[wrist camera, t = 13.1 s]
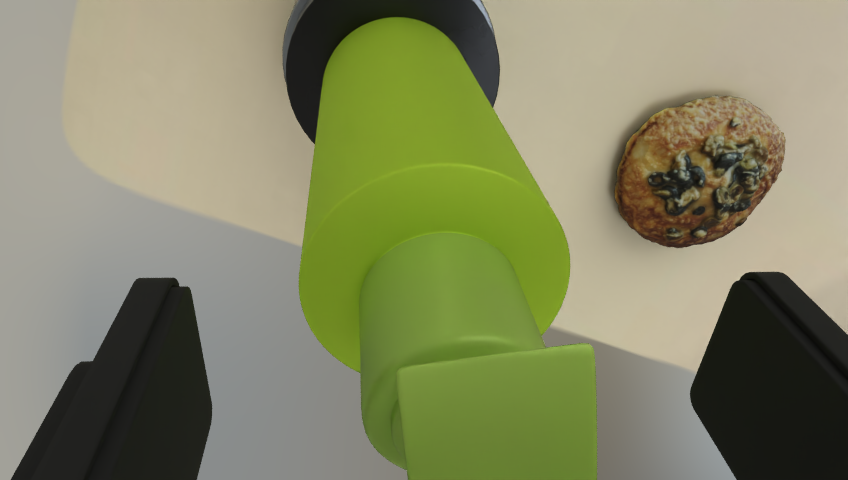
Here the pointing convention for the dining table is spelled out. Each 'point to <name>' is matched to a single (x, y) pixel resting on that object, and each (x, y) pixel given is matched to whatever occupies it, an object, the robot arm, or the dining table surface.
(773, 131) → the bread roll
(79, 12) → the dining table surface
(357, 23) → the grey and black cylinder
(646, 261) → the dining table surface
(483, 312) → the soap dispenser
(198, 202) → the dining table surface
